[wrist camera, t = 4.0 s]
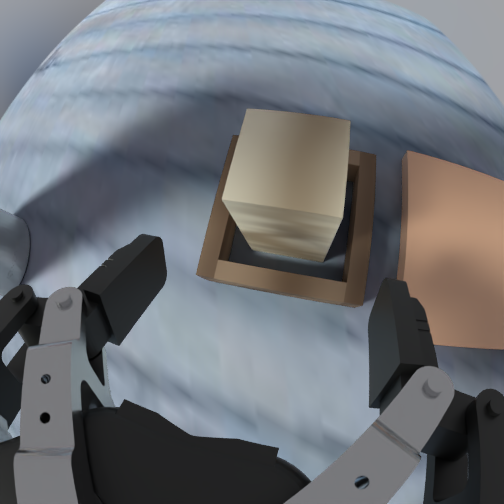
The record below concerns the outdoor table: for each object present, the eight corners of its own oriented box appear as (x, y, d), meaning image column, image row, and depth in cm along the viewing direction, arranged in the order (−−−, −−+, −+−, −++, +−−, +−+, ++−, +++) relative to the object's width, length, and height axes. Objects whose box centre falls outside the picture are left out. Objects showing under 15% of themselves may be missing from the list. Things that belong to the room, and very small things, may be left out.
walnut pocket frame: (207, 280, 21) (196, 274, 18) (239, 152, 23) (232, 135, 20) (354, 307, 19) (362, 305, 16) (369, 171, 21) (376, 154, 18)
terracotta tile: (387, 339, 18) (394, 340, 17) (401, 159, 21) (407, 150, 19) (507, 349, 16) (517, 350, 14) (508, 193, 19) (517, 186, 17)
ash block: (252, 250, 21) (221, 199, 12) (265, 186, 22) (247, 108, 13) (322, 262, 20) (342, 218, 11) (332, 196, 21) (350, 120, 12)
